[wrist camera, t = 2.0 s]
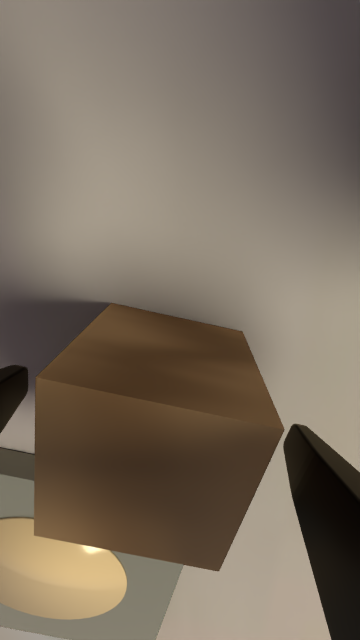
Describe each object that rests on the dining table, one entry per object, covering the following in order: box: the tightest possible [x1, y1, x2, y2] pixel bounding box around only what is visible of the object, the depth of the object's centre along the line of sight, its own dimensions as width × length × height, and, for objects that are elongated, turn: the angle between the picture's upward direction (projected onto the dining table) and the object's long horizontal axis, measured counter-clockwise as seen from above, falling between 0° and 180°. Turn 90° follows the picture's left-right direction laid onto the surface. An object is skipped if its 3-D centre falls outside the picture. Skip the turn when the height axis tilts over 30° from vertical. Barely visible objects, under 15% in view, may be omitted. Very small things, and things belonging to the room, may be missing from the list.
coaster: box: [0, 448, 183, 640], centre depth 15 cm, size 14×14×1 cm
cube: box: [34, 303, 285, 571], centre depth 8 cm, size 5×5×5 cm
